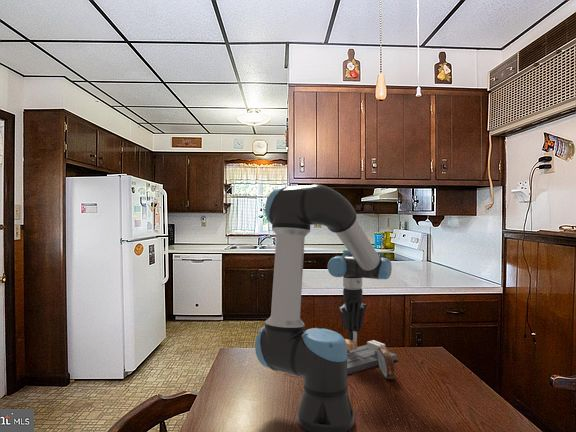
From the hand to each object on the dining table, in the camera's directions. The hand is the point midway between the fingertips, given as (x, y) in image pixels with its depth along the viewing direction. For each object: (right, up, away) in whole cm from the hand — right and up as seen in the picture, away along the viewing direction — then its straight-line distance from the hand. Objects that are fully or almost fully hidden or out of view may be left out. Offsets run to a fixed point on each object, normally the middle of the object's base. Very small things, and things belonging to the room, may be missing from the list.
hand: (353, 347), depth 149 cm
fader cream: (+8, -2, -3) cm, 9 cm away
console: (0, -4, -4) cm, 6 cm away
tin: (+9, -4, -16) cm, 19 cm away
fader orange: (-2, -2, -1) cm, 3 cm away
